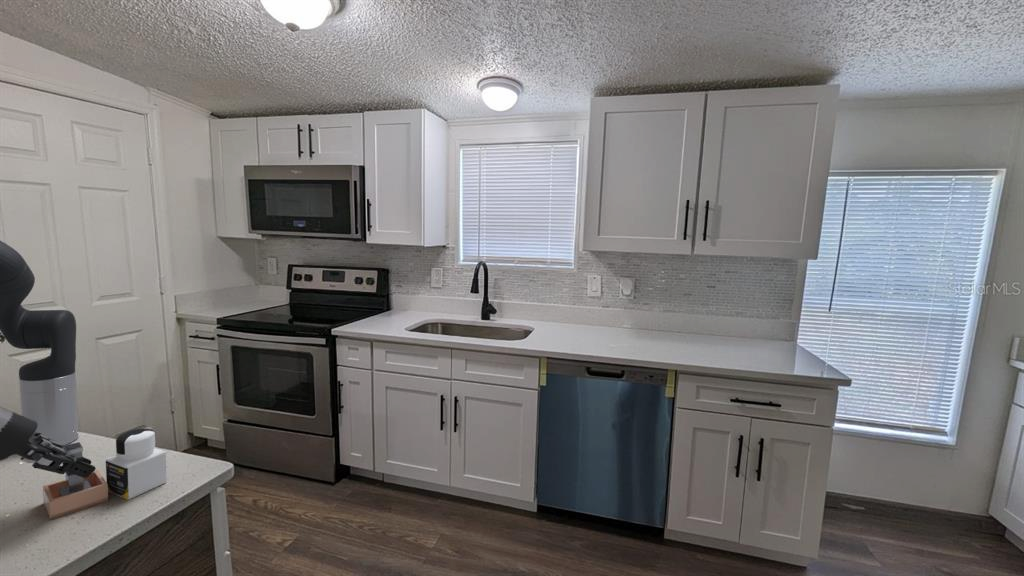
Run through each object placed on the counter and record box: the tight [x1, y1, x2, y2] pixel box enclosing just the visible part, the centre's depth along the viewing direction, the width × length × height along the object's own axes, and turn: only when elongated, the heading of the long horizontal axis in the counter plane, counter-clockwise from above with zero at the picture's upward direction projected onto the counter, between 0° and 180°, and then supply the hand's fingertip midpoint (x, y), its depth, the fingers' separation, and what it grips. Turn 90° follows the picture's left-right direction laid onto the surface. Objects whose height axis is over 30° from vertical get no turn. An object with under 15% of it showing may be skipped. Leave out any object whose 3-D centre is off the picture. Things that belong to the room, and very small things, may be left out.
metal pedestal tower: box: [58, 441, 91, 497], centre depth 82 cm, size 4×4×10 cm
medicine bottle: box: [105, 428, 168, 501], centre depth 88 cm, size 7×7×12 cm
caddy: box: [42, 469, 109, 521], centre depth 82 cm, size 8×8×4 cm
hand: (88, 469), depth 83 cm, fingers closed on metal pedestal tower, 3 cm apart
